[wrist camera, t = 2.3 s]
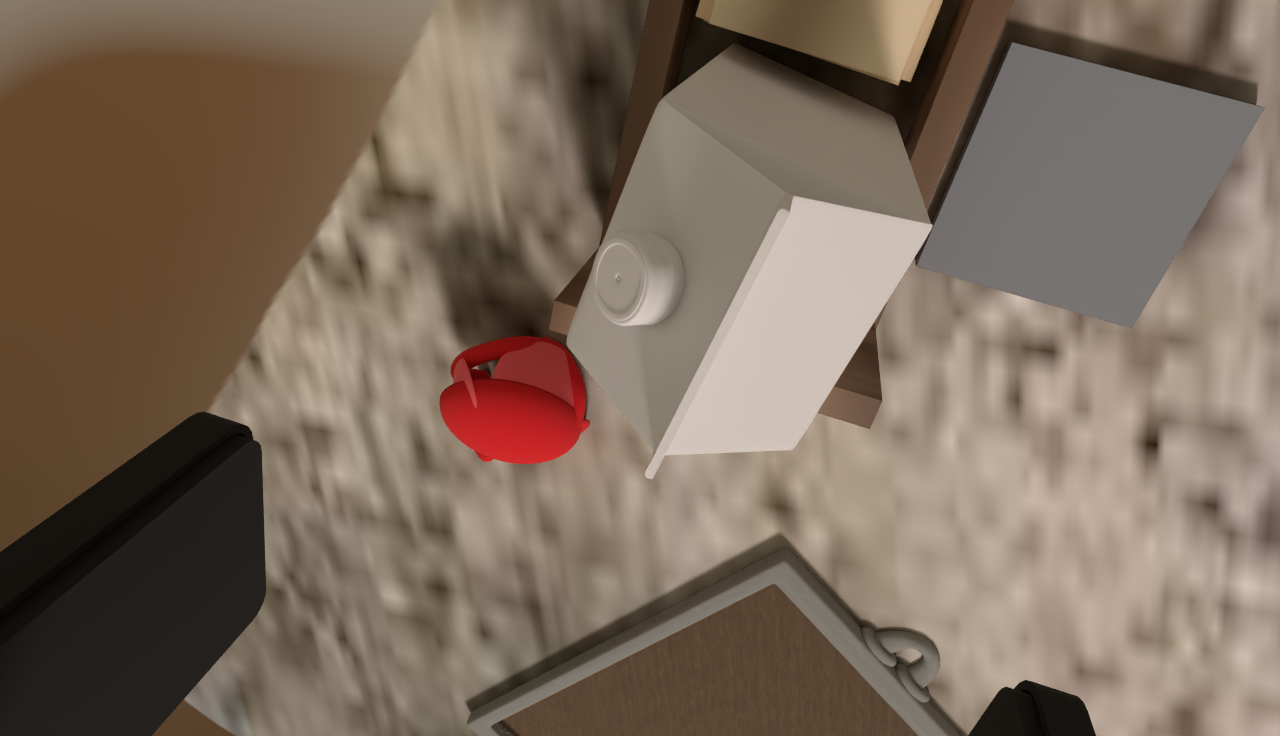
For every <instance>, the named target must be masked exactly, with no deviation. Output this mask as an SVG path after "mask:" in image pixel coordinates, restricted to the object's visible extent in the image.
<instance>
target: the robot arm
mask: <svg viewBox="0 0 1280 736" xmlns="http://www.w3.org/2000/svg"><path fill="white" fill-rule="evenodd" d="M265 595H266V573H265V541H264V509H263V478H262V450H261V445H260V444H259V442H257V441H254V440H253V436H252V431H251V430H250V428H249V427H248V426H246V425H243V424H240V423H237V422H234V421H231V420H228V419H225V418H222V417H219V416H216V415H213V414H210V413H206V412H199V413H196V414H194V415H192V416H190V417H189V418H187V419H186V420H185V421H183V422H182V423H180V424H179V425H178V426H176V427H175V428H173V429H172V430H171V431H170V432H168V433H166V434H165V435H164V436H162V437H161V438H159V439H158V440H157V441H155V442H154V443H153V444H151V445H150V446H148V447H147V448H145V449H144V450H143V451H141V452H140V453H138V454H137V455H136V456H134V457H133V458H131V459H130V460H129V461H127V462H126V463H125V464H123V465H122V466H120V467H119V468H117V469H116V470H115V471H113V472H112V473H110V474H109V475H108V476H107V477H105V478H103V479H102V480H101V481H99V482H98V483H96V484H95V485H94V486H92V487H91V488H90V489H88V490H87V491H85V492H84V493H82V494H81V495H80V496H78V497H77V498H75V499H74V500H73V501H71V502H70V503H68V504H67V505H66V506H64V507H63V508H61V509H60V510H58V511H57V512H56V513H54V514H53V515H51V516H50V517H49V518H47V519H46V520H44V521H43V522H42V523H40V524H39V525H38V526H36V527H35V528H33V529H32V530H30V531H29V532H28V533H26V534H25V535H23V536H22V537H21V538H19V539H18V540H17V541H15V542H14V543H12V544H11V545H9V546H8V547H7V548H5V549H4V550H2V551H1V552H0V736H152V735H153V734H154V732H155V731H156V730H157V729H158V728H159V727H160V726H161V724H162V723H163V722H164V721H165V720H166V719H167V717H168V716H169V715H170V714H171V713H172V712H173V711H174V710H175V708H176V707H177V706H178V705H179V704H180V703H181V701H182V700H183V699H184V698H185V697H186V696H187V695H188V694H189V692H190V691H191V690H192V689H193V688H194V687H195V686H196V684H197V683H198V682H199V681H200V680H201V679H202V678H203V676H204V675H205V674H206V673H207V672H208V671H209V670H210V668H211V667H212V666H213V665H214V664H215V663H216V662H217V660H218V659H219V658H220V657H221V656H222V655H223V654H224V653H225V651H226V650H227V649H228V648H229V647H230V646H231V645H232V643H233V642H234V641H235V640H236V639H237V638H238V637H239V635H240V634H241V633H242V632H243V631H244V630H245V629H246V627H247V626H248V625H249V624H250V623H251V622H252V621H253V619H254V618H255V617H256V615H257V614H258V612H259V610H260V608H261V606H262V604H263V602H264V598H265ZM968 736H1096V734H1095V732H1094V729H1093V726H1092V723H1091V720H1090V717H1089V714H1088V711H1087V709H1086V707H1085V705H1084V702H1083V701H1082V700H1081V699H1080V698H1079V697H1078V696H1075V695H1071V694H1068V693H1065V692H1062V691H1059V690H1056V689H1053V688H1050V687H1047V686H1044V685H1041V684H1038V683H1035V682H1032V681H1027V680H1025V681H1022V682H1020V683H1019V684H1018V685H1017V686H1016V687H1015V688H1014V689H1012V688H1008V687H1004V688H1002V689H1001V690H1000V691H999V692H998V693H997V695H996V696H995V698H994V699H993V701H992V702H991V703H990V705H989V706H988V708H987V709H986V711H985V712H984V714H983V715H982V716H981V718H980V719H979V721H978V722H977V724H976V725H975V727H974V728H973V729H972V731H971V732H970V734H969V735H968Z"/></svg>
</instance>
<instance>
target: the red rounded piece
mask: <svg viewBox="0 0 1280 736" xmlns="http://www.w3.org/2000/svg"><path fill="white" fill-rule="evenodd" d="M496 359H500V360H499V361H498V363H497V365H496V367H495V370H494V374H493V379H491V376H490V374H489V373H488V372H487V371H484V370H478V369H471V368H473V367H475V366H477V365H480V364H483V363H486V362H489V361H492V360H496ZM451 375H452V377H453V384H452V385H450V386H449V387H447V388H446V389H445V390H444V391H443V392H442V394H441V396H440V411H441V414H442V417H443V419H444V422H445V423H446V425H447V427H448V428H449V429H450V431H451V432H452V433H453V434H454V435H455V436H456V437H457V438H458V439H459V440H460V441H461V442H463V443H464V444H465V445H467V446H468V447H470V448H471V449H473V450H474V451H475V452H476V454H477V455H478V457H479V458H480V459H481V460H482V461H486V462H488V461H491V460H493V459H496V460H500V461H504V462H510V463H518V464H533V463H541V462H546V461H549V460H553V459H555V458H557V457H560V456H561V455H563V454H565V453H566V452H568V451H569V450H570V449H571V448H572V447H573V446H574V445H575V443H576V442H577V440H578V438H579V436H580V433H582V432H583V431H584V430H586V429H587V428H588V426H589V425H590V421H589V420H587V419H584V414H585V409H586V389H585V384H584V381H583V378H582V375H581V373H580V371H579V369H578V367H577V365H576V363H575V361H574V360H573V358H572V356H571V355H570V354H569V352H568V351H567V350H566V349H565V348H564V347H563V345H562V344H561V343H560V342H556V341H554V340H553V339H551V338H549V337H541V338H540V337H531V336H516V337H508V338H503V339H498V340H494V341H490V342H487V343H483V344H480V345H477V346H474V347H472V348H469V349H467V350H465V351H463V352H462V353H461V354H459V355H458V356H457V357H456V358H455V360H454V361H453V363H452V365H451Z"/></svg>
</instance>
